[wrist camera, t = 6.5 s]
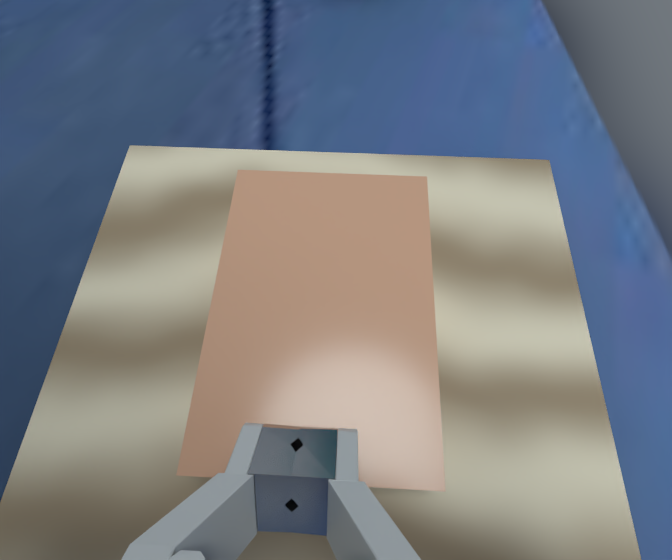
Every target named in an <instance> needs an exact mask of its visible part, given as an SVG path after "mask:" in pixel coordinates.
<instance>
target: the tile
mask: <svg viewBox="0 0 672 560" xmlns="http://www.w3.org/2000/svg"><path fill="white" fill-rule="evenodd" d="M245 423H257V424H275V425H287V426H299V427H321V428H348V429H357V431H358V477H359V481H361V482H365V483H366V485H367V486H368V487H377V488H393V489H410V490H426V491H443V492H446V490H445V473H444V456H443V439H442V422H441V405H440V388H439V371H438V354H437V337H436V320H435V303H434V286H433V269H432V252H431V235H430V219H429V202H428V185H427V177H426V176H398V175H371V174H343V173H316V172H288V171H260V170H238V172H237V177H236V181H235V186H234V191H233V196H232V201H231V206H230V211H229V216H228V221H227V226H226V231H225V236H224V241H223V246H222V251H221V256H220V261H219V266H218V271H217V276H216V281H215V286H214V290H213V295H212V300H211V305H210V310H209V315H208V320H207V325H206V330H205V335H204V340H203V345H202V350H201V355H200V360H199V365H198V370H197V375H196V380H195V385H194V390H193V395H192V399H191V404H190V409H189V414H188V419H187V424H186V429H185V434H184V439H183V444H182V449H181V454H180V459H179V464H178V469H177V474H176V475H178V476H195V477H211V478H213V477H214V476H215V475H216V474H218V473H225V470H226V467H227V465H228V462H229V460H230V457H231V454H232V452H233V449H234V447H235V444H236V442H237V439H238V436H239V434H240V431H241V429H242V426H243V425H244V424H245ZM337 436H338V433H337Z"/></svg>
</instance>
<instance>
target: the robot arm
mask: <svg viewBox="0 0 672 560" xmlns="http://www.w3.org/2000/svg"><path fill="white" fill-rule="evenodd" d="M337 433H338V436H337ZM257 531H263V532H292V533H302V534H312V535H323V536H327V540H328V542H329V544H330V546H331V549H332V551H333V553H334V555H335V557H336V559H337V560H421V559H420V557H419V556H418V555H417V553H416V552H415V550H414V549H413V548H412V546H411V545H410V544H409V542H408V541H407V539H406V538H405V537H404V535H403V534H402V533H401V531H400V530H399V528H398V527H397V526H396V524H395V523H394V522H393V520H392V519H391V517H390V516H389V515H388V513H387V512H386V511H385V509H384V508H383V507H382V505H381V504H380V502H379V501H378V500H377V498H376V497H375V496H374V494H373V493H372V491H371V490H370V489H369V487H368V486H367V485H366V483H365V482H361V481H359V477H358V431H357V429H348V428H321V427H299V426H287V425H275V424H257V423H245V424H244V425H243V426H242V429H241V431H240V434H239V436H238V439H237V442H236V444H235V447H234V449H233V452H232V454H231V457H230V460H229V462H228V465H227V467H226V470H225V473H218V474H216V475H215V476H214V477H213V478H211V479H210V480H209V481H208V482H206V483H205V484H204V485H203V486H201V487H200V488H199V489H198V490H196V491H195V492H194V493H193V494H192V495H190V496H189V497H188V498H187V499H185V500H184V501H183V502H182V503H180V504H179V505H178V506H177V507H175V508H174V509H173V510H172V511H170V512H169V513H168V514H167V515H165V516H164V517H163V518H162V519H160V520H159V521H158V522H157V523H156V524H154V525H153V526H152V527H151V528H149V529H148V530H147V531H146V532H144V533H143V534H142V535H141V536H139V537H138V538H137V539H136V540H134V541H133V542H132V543H131V544H130V545H129V547H128V548H127V550H126V552H125V554H124V556H123V557H122V559H121V560H236V559H237V558H238V557H239V555H240V554H241V553H242V552H243V551H244V549H245V548H246V547H247V546H248V544H249V543H250V542H251V541H252V539H253V538H254V537H255V536H256V534H257Z"/></svg>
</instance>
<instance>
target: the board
mask: <svg viewBox="0 0 672 560" xmlns="http://www.w3.org/2000/svg"><path fill="white" fill-rule="evenodd" d="M238 170H260V171H288V172H316V173H343V174H371V175H398V176H426V177H427V185H428V202H429V219H430V235H431V252H432V269H433V286H434V303H435V320H436V337H437V354H438V371H439V388H440V405H441V422H442V439H443V456H444V473H445V490H446V492H443V491H426V490H410V489H393V488H377V487H369V489H370V490H371V491H372V493H373V494H374V496H375V497H376V498H377V500H378V501H379V502H380V504H381V505H382V507H383V508H384V509H385V511H386V512H387V513H388V515H389V516H390V517H391V519H392V520H393V522H394V523H395V524H396V526H397V527H398V528H399V530H400V531H401V533H402V534H403V535H404V537H405V538H406V539H407V541H408V542H409V544H410V545H411V546H412V548H413V549H414V550H415V552H416V553H417V555H418V556H419V557H420V559H421V560H641V556H640V552H639V547H638V543H637V539H636V534H635V530H634V526H633V521H632V517H631V513H630V508H629V504H628V500H627V495H626V491H625V487H624V482H623V478H622V474H621V469H620V465H619V461H618V456H617V452H616V448H615V443H614V439H613V435H612V430H611V426H610V422H609V417H608V413H607V409H606V404H605V400H604V396H603V392H602V387H601V383H600V379H599V374H598V370H597V366H596V361H595V357H594V353H593V348H592V344H591V340H590V335H589V331H588V327H587V322H586V318H585V314H584V309H583V305H582V301H581V296H580V292H579V288H578V283H577V279H576V275H575V270H574V266H573V262H572V257H571V253H570V249H569V244H568V240H567V236H566V231H565V227H564V223H563V218H562V214H561V210H560V205H559V201H558V197H557V192H556V188H555V184H554V179H553V175H552V171H551V166H550V162H549V160H534V159H505V158H476V157H448V156H419V155H390V154H361V153H332V152H303V151H274V150H246V149H217V148H188V147H159V146H130V147H129V149H128V152H127V155H126V158H125V160H124V163H123V166H122V169H121V171H120V174H119V177H118V180H117V182H116V185H115V188H114V191H113V193H112V196H111V199H110V202H109V204H108V207H107V210H106V213H105V215H104V218H103V221H102V224H101V226H100V229H99V232H98V235H97V237H96V240H95V243H94V246H93V248H92V251H91V254H90V257H89V259H88V262H87V265H86V268H85V270H84V273H83V276H82V279H81V281H80V284H79V287H78V290H77V292H76V295H75V298H74V301H73V303H72V306H71V309H70V312H69V315H68V317H67V320H66V323H65V326H64V328H63V331H62V334H61V337H60V339H59V342H58V345H57V348H56V350H55V353H54V356H53V359H52V361H51V364H50V367H49V370H48V372H47V375H46V378H45V381H44V383H43V386H42V389H41V392H40V394H39V397H38V400H37V403H36V405H35V408H34V411H33V414H32V416H31V419H30V422H29V425H28V427H27V430H26V433H25V436H24V438H23V441H22V444H21V447H20V449H19V452H18V455H17V458H16V460H15V463H14V466H13V469H12V471H11V474H10V477H9V480H8V482H7V485H6V488H5V491H4V493H3V496H2V499H1V502H0V560H121V559H122V557H123V556H124V554H125V552H126V550H127V548H128V547H129V545H130V544H131V543H132V542H133V541H134V540H136V539H137V538H138V537H139V536H141V535H142V534H143V533H144V532H146V531H147V530H148V529H149V528H151V527H152V526H153V525H154V524H156V523H157V522H158V521H159V520H160V519H162V518H163V517H164V516H165V515H167V514H168V513H169V512H170V511H172V510H173V509H174V508H175V507H177V506H178V505H179V504H180V503H182V502H183V501H184V500H185V499H187V498H188V497H189V496H190V495H192V494H193V493H194V492H195V491H196V490H198V489H199V488H200V487H201V486H203V485H204V484H205V483H206V482H208V481H209V480H210V479H211V477H195V476H178V475H176V474H177V469H178V464H179V459H180V454H181V449H182V444H183V439H184V434H185V429H186V424H187V419H188V414H189V409H190V404H191V399H192V395H193V390H194V385H195V380H196V375H197V370H198V365H199V360H200V355H201V350H202V345H203V340H204V335H205V330H206V325H207V320H208V315H209V310H210V305H211V300H212V295H213V290H214V286H215V281H216V276H217V271H218V266H219V261H220V256H221V251H222V246H223V241H224V236H225V231H226V226H227V221H228V216H229V211H230V206H231V201H232V196H233V191H234V186H235V181H236V177H237V172H238ZM236 560H337V559H336V557H335V555H334V553H333V551H332V549H331V546H330V544H329V542H328V540H327V536H323V535H312V534H302V533H292V532H263V531H257V534H256V536H255V537H254V538H253V539H252V541H251V542H250V543H249V544H248V546H247V547H246V548H245V549H244V551H243V552H242V553H241V554H240V555H239V557H238V558H237V559H236Z"/></svg>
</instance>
